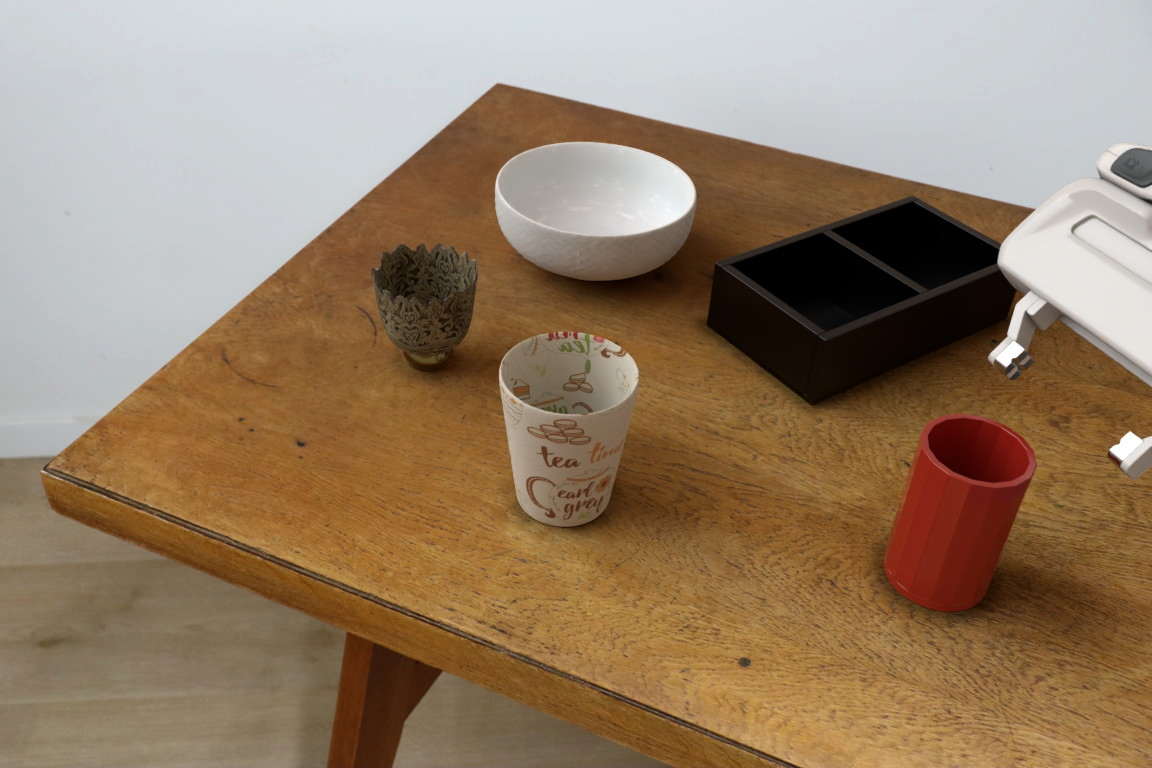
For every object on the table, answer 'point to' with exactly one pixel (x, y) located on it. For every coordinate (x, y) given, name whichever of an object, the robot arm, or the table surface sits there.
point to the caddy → (859, 296)
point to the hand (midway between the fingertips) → (1056, 416)
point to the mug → (566, 422)
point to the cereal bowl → (594, 209)
